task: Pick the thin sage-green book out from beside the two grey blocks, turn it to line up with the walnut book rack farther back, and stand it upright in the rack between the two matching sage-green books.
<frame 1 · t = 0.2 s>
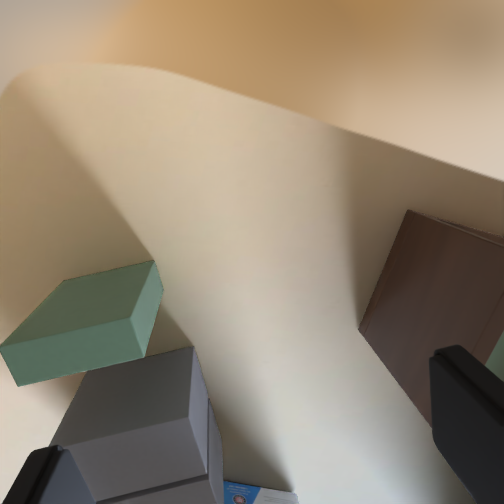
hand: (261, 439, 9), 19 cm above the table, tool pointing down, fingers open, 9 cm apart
ink box: (250, 501, 37), on the table
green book: (114, 285, 28), on the table
grey blocks: (158, 407, 32), on the table
book rack: (488, 299, 32), on the table
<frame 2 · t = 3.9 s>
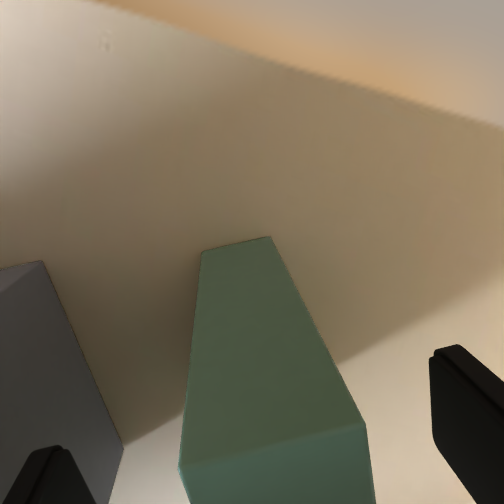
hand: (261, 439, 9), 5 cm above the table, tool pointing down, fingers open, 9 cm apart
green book: (255, 324, 14), on the table
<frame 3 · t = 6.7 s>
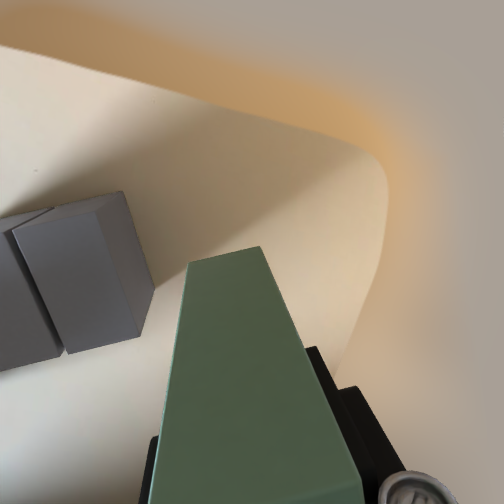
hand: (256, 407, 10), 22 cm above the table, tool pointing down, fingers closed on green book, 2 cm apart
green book: (244, 338, 14), point 19 cm above the table, touching gripper
grey blocks: (78, 256, 31), on the table
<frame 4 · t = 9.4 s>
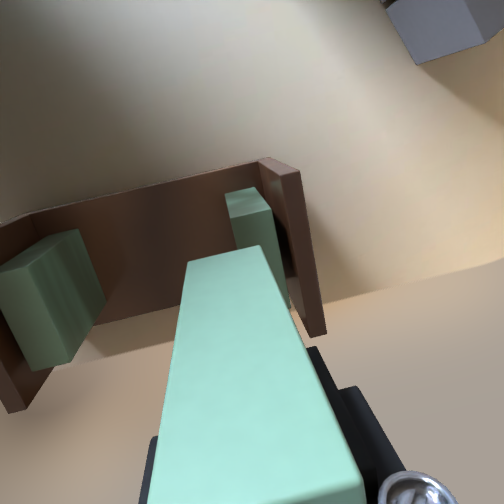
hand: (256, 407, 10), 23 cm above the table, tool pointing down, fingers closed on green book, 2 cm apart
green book: (245, 337, 14), point 20 cm above the table, touching gripper
book rack: (165, 245, 33), on the table
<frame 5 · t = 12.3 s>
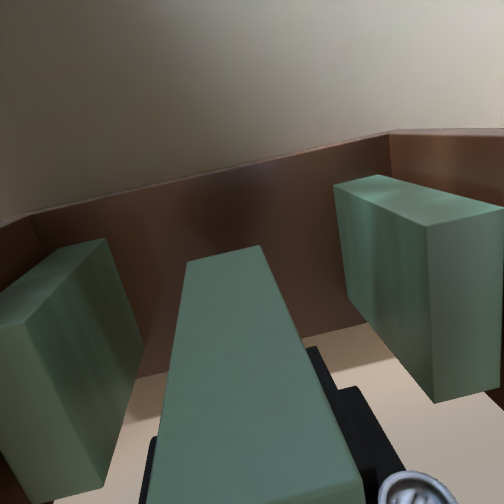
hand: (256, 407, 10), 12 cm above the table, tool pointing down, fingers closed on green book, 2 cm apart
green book: (244, 337, 14), point 8 cm above the table, touching gripper
book rack: (233, 262, 22), on the table
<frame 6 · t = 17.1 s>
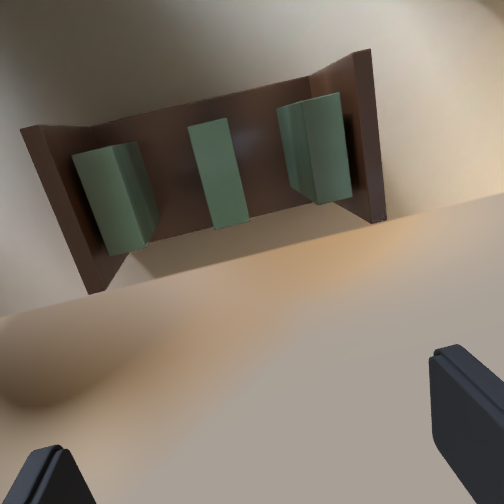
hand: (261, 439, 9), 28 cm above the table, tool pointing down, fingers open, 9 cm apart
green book: (216, 164, 33), point 1 cm above the table, touching book rack
book rack: (216, 163, 34), on the table
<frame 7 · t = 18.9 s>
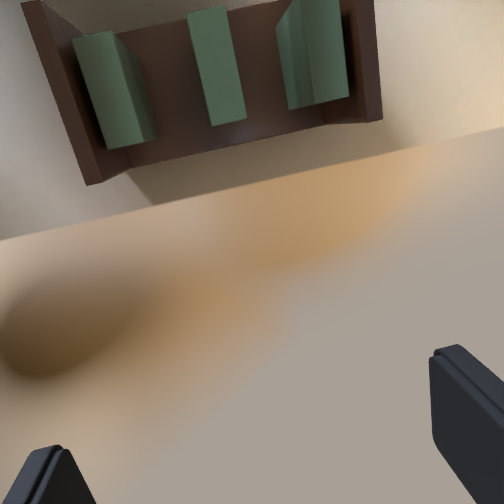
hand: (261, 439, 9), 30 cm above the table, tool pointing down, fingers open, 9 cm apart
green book: (215, 84, 33), point 1 cm above the table, touching book rack
book rack: (215, 86, 34), on the table
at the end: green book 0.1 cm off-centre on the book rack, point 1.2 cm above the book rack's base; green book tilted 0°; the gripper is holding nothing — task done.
